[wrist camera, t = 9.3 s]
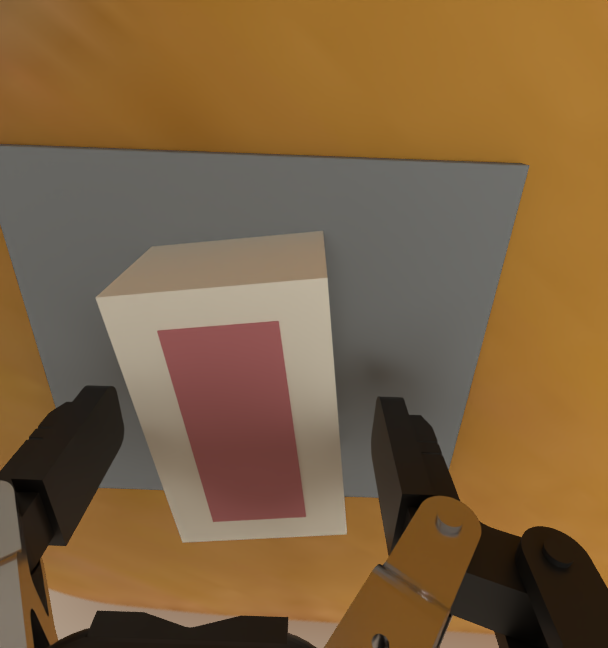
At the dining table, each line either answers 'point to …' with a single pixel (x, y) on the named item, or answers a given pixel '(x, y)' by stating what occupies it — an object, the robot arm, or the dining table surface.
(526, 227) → the dining table surface
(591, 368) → the dining table surface
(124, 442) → the mat
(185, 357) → the card box
